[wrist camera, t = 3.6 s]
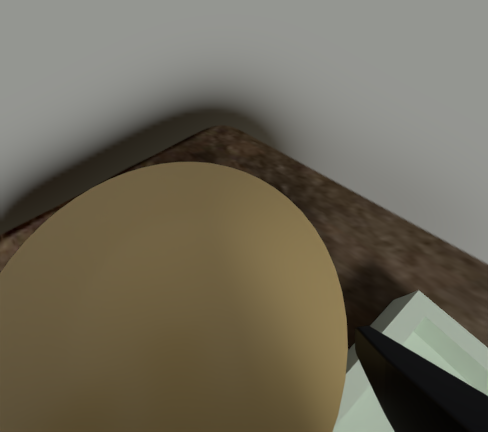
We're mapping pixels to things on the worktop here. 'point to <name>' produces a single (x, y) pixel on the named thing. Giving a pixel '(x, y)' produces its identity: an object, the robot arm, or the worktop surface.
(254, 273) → the tan rounded cylinder
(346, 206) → the worktop surface
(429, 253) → the worktop surface
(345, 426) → the tray
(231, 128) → the worktop surface
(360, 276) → the worktop surface
